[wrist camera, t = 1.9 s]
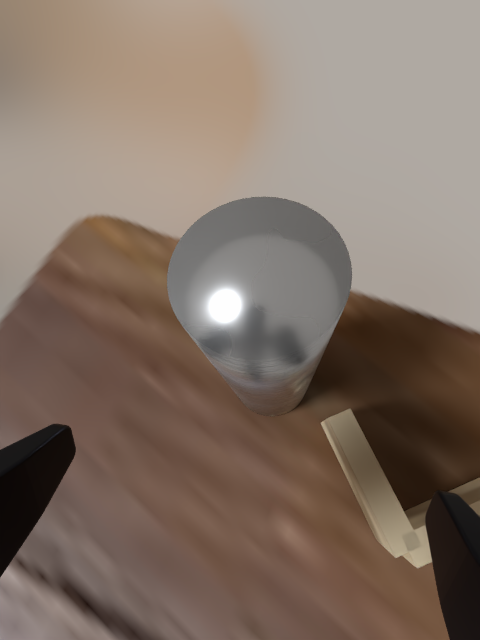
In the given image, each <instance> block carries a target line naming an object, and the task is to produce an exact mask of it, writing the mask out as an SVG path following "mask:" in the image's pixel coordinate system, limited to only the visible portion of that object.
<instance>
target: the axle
mask: <svg viewBox="0 0 480 640" xmlns="http://www.w3.org/2000/svg"><path fill="white" fill-rule="evenodd" d="M351 281H352V268H351V261H350V257H349V253H348V250H347V248H346V245H345V243H344V241H343V239H342V238H341V236H340V234H339V233H338V232H337V231H336V229H335V228H334V227H333V226H332V225H331V224H330V223H329V222H328V221H327V220H326V219H325V218H324V217H323V216H321V215H320V214H318V213H317V212H316V211H314V210H312V209H310V208H308V207H307V206H304V205H302V204H300V203H297V202H294V201H290V200H287V199H282V198H276V197H252V198H245V199H240V200H236V201H232V202H229V203H227V204H224V205H222V206H219V207H217V208H216V209H213V210H212V211H210V212H208V213H207V214H205V215H204V216H202V217H201V218H200V219H199V220H197V221H196V222H195V223H194V224H193V225H192V226H191V227H190V228H189V229H188V230H187V231H186V233H185V234H184V235H183V236H182V238H181V239H180V241H179V242H178V244H177V246H176V248H175V250H174V252H173V254H172V257H171V260H170V264H169V268H168V275H167V288H168V295H169V299H170V303H171V306H172V309H173V311H174V313H175V315H176V317H177V319H178V320H179V322H180V323H181V324H182V326H183V327H184V329H185V330H186V331H187V332H188V334H189V335H190V336H191V337H192V339H193V340H194V341H195V343H196V344H197V345H198V346H199V348H200V349H201V350H202V351H203V353H204V354H205V355H206V357H207V358H208V359H209V360H210V362H211V363H212V364H213V365H214V367H215V368H216V369H217V371H218V372H219V373H220V374H221V376H222V377H223V378H224V379H225V381H226V382H227V383H228V385H229V386H230V387H231V388H232V390H233V391H234V392H235V393H236V395H237V396H238V397H239V399H240V400H241V401H242V402H243V403H244V405H245V406H246V407H248V408H249V409H250V410H252V411H253V412H255V413H257V414H260V415H264V416H279V415H283V414H286V413H288V412H290V411H291V410H293V409H294V408H295V407H296V406H297V405H298V404H299V403H300V402H301V401H302V399H303V397H304V395H305V393H306V391H307V389H308V386H309V384H310V382H311V380H312V378H313V375H314V373H315V371H316V369H317V367H318V364H319V362H320V360H321V358H322V356H323V353H324V351H325V349H326V347H327V345H328V342H329V340H330V338H331V336H332V334H333V331H334V329H335V327H336V325H337V323H338V320H339V318H340V316H341V314H342V312H343V309H344V307H345V305H346V302H347V299H348V297H349V293H350V289H351Z"/></svg>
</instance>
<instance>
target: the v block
mask: <svg viewBox="0 0 480 640" xmlns="http://www.w3.org/2000/svg"><path fill="white" fill-rule="evenodd" d="M321 425H322V427H323V429H324V431H325V433H326V435H327V438H328V440H329V442H330V444H331V446H332V448H333V450H334V452H335V454H336V456H337V459H338V461H339V463H340V465H341V467H342V469H343V471H344V473H345V475H346V477H347V480H348V482H349V484H350V486H351V488H352V490H353V492H354V494H355V496H356V498H357V501H358V503H359V505H360V507H361V509H362V511H363V513H364V515H365V517H366V519H367V522H368V524H369V526H370V528H371V530H372V532H373V534H374V536H375V538H376V540H377V541H378V542H379V543H380V544H381V545H382V546H383V547H385V548H386V549H387V550H388V551H389V552H390V553H391V554H392V555H393V556H394V557H395V558H397V557H399V556H401V555H402V556H403V557H404V558H406V559H407V560H408V561H409V562H410V563H411V564H413V565H414V566H415V567H416V568H419V567H422V566H424V565H426V564H428V563H430V562H432V558H431V553H430V547H429V542H428V536H427V531H426V525H425V516H426V512H427V510H428V507H429V504H430V502H431V499H430V500H428V501H426V502H424V503H421V504H419V505H417V506H415V507H412V508H410V509H408V510H406V511H403V509H402V507H401V505H400V503H399V501H398V499H397V497H396V495H395V493H394V491H393V489H392V488H391V486H390V484H389V482H388V480H387V478H386V476H385V474H384V472H383V470H382V468H381V466H380V465H379V463H378V461H377V459H376V457H375V455H374V453H373V451H372V449H371V447H370V445H369V443H368V441H367V440H366V438H365V436H364V434H363V432H362V430H361V428H360V426H359V424H358V422H357V420H356V418H355V417H354V415H353V413H352V411H351V409H348V410H345V411H343V412H341V413H339V414H336V415H334V416H332V417H329V418H327V419H326V420H324V421H323V422H321ZM448 492H452V493H456V494H457V495H459V496H460V497H461V498H462V499H463V500H464V501H465V502H466V503H467V504H468V505H469V506H470V507H471V508H472V509H473V510H474V511H475V512H476V513H477V514H478V515H479V516H480V477H479V478H477V479H475V480H473V481H470V482H468V483H466V484H464V485H461V486H459V487H457V488H455V489H453V490H450V491H448Z"/></svg>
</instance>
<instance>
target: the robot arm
mask: <svg viewBox="0 0 480 640" xmlns="http://www.w3.org/2000/svg"><path fill="white" fill-rule="evenodd" d="M75 452H76V447H75V443H74V439H73V435H72V430H71V428H70V427H69V426H67V425H62V424H52V425H50V426H48V427H46V428H44V429H42V430H40V431H38V432H36V433H33V434H31V435H29V436H27V437H25V438H23V439H21V440H19V441H17V442H15V443H13V444H11V445H9V446H7V447H5V448H3V449H1V450H0V577H1V576H2V574H3V573H4V571H5V570H6V568H7V567H8V565H9V564H10V562H11V561H12V559H13V558H14V556H15V555H16V553H17V552H18V550H19V549H20V547H21V546H22V544H23V543H24V541H25V540H26V538H27V537H28V535H29V534H30V532H31V531H32V529H33V528H34V526H35V525H36V523H37V522H38V520H39V519H40V517H41V516H42V514H43V512H44V511H45V509H46V507H47V505H48V504H49V502H50V500H51V498H52V496H53V495H54V493H55V491H56V489H57V487H58V486H59V484H60V482H61V480H62V478H63V476H64V475H65V473H66V471H67V469H68V467H69V466H70V464H71V462H72V460H73V458H74V456H75ZM425 525H426V531H427V536H428V542H429V547H430V553H431V558H432V563H433V569H434V574H435V580H436V585H437V591H438V595H439V600H440V605H441V609H442V613H443V617H444V620H445V624H446V627H447V631H448V634H449V638H450V640H480V516H479V515H478V514H477V513H476V512H475V511H474V510H473V509H472V508H471V507H470V506H469V505H468V504H467V503H466V502H465V501H464V500H463V499H462V498H461V497H460V496H459V495H457V494H456V493H452V492H446V491H440V490H437V491H436V492H435V493H434V494H433V497H432V499H431V502H430V504H429V507H428V510H427V512H426V516H425Z"/></svg>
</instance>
